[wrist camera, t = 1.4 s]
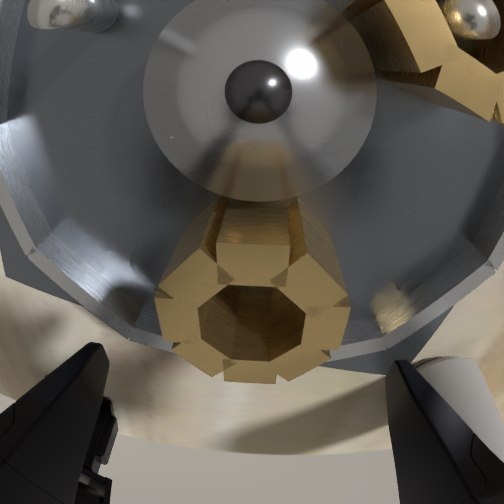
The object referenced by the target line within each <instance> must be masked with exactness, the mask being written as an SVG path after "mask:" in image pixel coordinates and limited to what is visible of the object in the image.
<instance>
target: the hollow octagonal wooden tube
mask: <svg viewBox="0 0 504 504" xmlns="http://www.w3.org/2000/svg"><path fill="white" fill-rule="evenodd" d="M233 285H244V286H265V287H277V288H278V289H276V290H275V291H274V292H272V293H256V292H240V291H239V290H237V289H236V288H235V287H234V286H233ZM158 287H159V288H158V290H157V292H156V295H155V297H154V299H155V304H156V309H157V314H158V318H159V323H160V327H161V332H162V336H163V340H164V341H170V342H173V345H172V349H171V351H173V352H174V353H176V354H177V355H179V356H180V357H182V358H183V359H185V360H186V361H188V362H189V363H191V364H192V365H194V366H195V367H197V368H198V369H200V370H201V371H203V372H204V373H206V374H207V375H209V376H211V377H213V376H215V375H217V374H218V373H220V372H222V371H224V381H229V382H244V383H263V384H276V376H277V374H278V375H280V376H281V377H283V378H284V379H286V380H287V381H290V380H292V379H294V378H296V377H298V376H300V375H302V374H304V373H306V372H308V371H310V370H311V369H313V368H315V367H317V366H319V365H321V364H323V363H324V362H326V361H328V360H330V359H331V355H330V350H339V349H340V345H341V342H342V339H343V335H344V332H345V328H346V324H347V321H348V317H349V313H350V310H351V305H350V301H349V298H348V293H347V290H346V286H345V283H344V279H343V276H342V272H341V269H340V266H339V262H338V259H337V256H336V252H335V249H334V246H333V243H332V239H331V236H330V233H329V232H328V231H327V230H326V228H325V227H324V226H323V225H322V224H321V223H320V222H319V221H318V220H317V219H316V217H315V216H314V215H313V214H312V213H311V212H310V211H309V210H308V209H307V208H306V207H305V206H304V204H303V203H302V202H301V201H300V200H299V199H298V198H297V199H296V200H295V201H293V202H292V203H291V204H290V205H289V206H287V205H286V199H284V200H277V201H264V202H255V201H243V200H238V199H233V198H230V199H229V202H226V201H225V200H224V199H223V198H222V197H221V196H220V195H219V196H218V197H217V198H216V199H215V200H214V201H213V202H212V203H211V204H210V205H209V206H207V207H206V208H205V209H204V210H203V211H202V212H201V213H200V214H199V215H198V216H197V217H196V218H195V219H194V220H193V221H192V222H191V223H190V224H189V225H188V226H187V227H186V228H185V230H184V232H183V234H182V236H181V238H180V240H179V242H178V244H177V247H176V249H175V251H174V253H173V255H172V257H171V259H170V261H169V263H168V265H167V267H166V269H165V271H164V274H163V276H162V278H161V280H160V282H159V284H158Z"/></svg>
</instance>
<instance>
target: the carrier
mask: <svg viewBox="0 0 504 504" xmlns="http://www.w3.org/2000/svg"><path fill="white" fill-rule="evenodd" d="M193 1H195V0H0V250H1V256H2V261H3V266H4V270H5V275H6V277H8V278H11V279H13V280H16V281H18V282H21V283H23V284H25V285H28V286H30V287H33V288H36V289H38V290H41V291H43V292H46V293H48V294H51V295H54V296H56V297H59V298H62V299H65V300H67V301H70V302H73V303H76V304H79V305H82V306H84V307H85V308H87V309H88V310H89V311H90V312H92V313H93V314H94V315H96V316H97V317H98V318H100V319H101V320H102V321H103V322H105V323H106V324H107V325H109V326H110V327H112V328H113V329H114V330H116V331H117V332H118V333H120V334H121V335H122V336H124V337H125V338H127V339H128V338H129V337H130V340H131V341H134V342H137V343H141V344H144V345H147V346H151V347H154V348H158V349H161V350H165V351H168V352H172V353H174V352H173V351H171V349H172V345H173V342H170V341H164V340H163V336H162V332H161V327H160V323H159V318H158V314H157V309H156V304H155V299H154V297H155V295H156V292H157V290H158V288H159V287H158V284H159V282H160V280H161V278H162V276H163V274H164V271H165V269H166V267H167V265H168V263H169V261H170V259H171V257H172V255H173V253H174V251H175V249H176V247H177V244H178V242H179V240H180V238H181V236H182V234H183V232H184V230H185V228H186V227H187V226H188V225H189V224H190V223H191V222H192V221H193V220H194V219H195V218H196V217H197V216H198V215H199V214H200V213H201V212H202V211H203V210H204V209H205V208H206V207H207V206H209V205H210V204H211V203H212V202H213V201H214V200H215V199H216V198H217V197H218V196H219V194H216V193H214V192H212V191H210V190H207V189H205V188H203V187H201V186H200V185H198V184H196V183H195V182H193V181H192V180H190V179H189V178H188V177H186V176H185V175H184V174H182V173H181V172H180V171H179V170H178V169H177V168H176V167H175V166H174V165H173V164H172V163H171V162H170V161H169V160H168V158H167V157H166V156H165V155H164V153H163V152H162V151H161V149H160V147H159V146H158V144H157V142H156V141H155V139H154V137H153V134H152V132H151V130H150V127H149V125H148V121H147V117H146V114H145V108H144V100H143V81H144V75H145V69H146V65H147V62H148V58H149V55H150V53H151V51H152V48H153V46H154V44H155V42H156V40H157V39H158V37H159V35H160V34H161V32H162V31H163V29H164V28H165V27H166V26H167V24H168V23H169V22H170V21H171V20H172V19H173V17H175V16H176V15H177V14H178V13H179V12H180V11H181V10H182V9H183V8H185V7H186V6H187V5H189V4H190V3H192V2H193ZM324 1H325V2H327V3H328V4H329V5H331V6H332V7H334V8H335V9H336V10H337V11H338V12H340V13H341V14H342V15H343V16H344V17H345V18H346V19H347V20H348V21H350V20H351V19H353V18H355V17H356V16H358V15H359V14H358V13H356V12H353V11H350V10H348V9H346V6H347V2H348V0H324ZM436 2H437V4H438V6H439V8H440V10H441V12H442V14H443V16H444V18H445V20H446V22H447V24H448V26H449V28H450V30H451V32H452V35H453V37H454V39H455V42H456V44H457V46H458V48H459V49H461V50H463V47H464V43H465V40H472V39H492V38H494V37H495V36H496V35H497V34H498V33H499V30H500V26H501V21H500V15H499V12H498V10H497V8H496V6H495V4H494V3H493V1H492V0H436ZM386 74H387V71H375V78H376V85H377V101H376V108H375V115H374V118H373V122H372V125H371V129H370V131H369V133H368V135H367V138H366V140H365V142H364V144H363V145H362V147H361V148H360V150H359V152H358V153H357V155H356V156H355V157H354V158H353V159H352V161H351V162H350V163H349V164H348V165H347V166H346V167H345V168H344V169H343V170H342V171H341V172H340V173H339V174H338V175H336V176H335V177H334V178H332V179H331V180H330V181H328V182H327V183H325V184H323V185H322V186H320V187H318V188H316V189H314V190H312V191H310V192H307V193H305V194H302V195H300V196H296V197H292V198H289V199H286V205H287V206H289V205H290V204H291V203H292V202H293V201H295V200H296V199H297V198H298V199H299V200H300V201H301V202H302V203H303V204H304V206H305V207H306V208H307V209H308V210H309V211H310V212H311V213H312V214H313V215H314V216H315V217H316V219H317V220H318V221H319V222H320V223H321V224H322V225H323V226H324V227H325V228H326V230H327V231H328V232H329V233H330V236H331V239H332V243H333V246H334V249H335V252H336V256H337V259H338V262H339V266H340V269H341V272H342V276H343V279H344V283H345V286H346V290H347V293H348V298H349V301H350V305H351V310H350V313H349V317H348V321H347V324H346V328H345V332H344V335H343V339H342V342H341V345H340V349H339V350H330V355H331V359H330V360H328V361H326V362H324V363H323V364H321V365H319V366H325V367H331V368H337V369H344V370H351V371H358V372H366V373H373V374H382V375H387V373H388V371H389V369H390V367H391V365H392V363H393V362H394V361H395V360H402V359H405V360H408V361H409V362H410V363H411V362H412V360H413V359H414V358H415V357H416V356H417V354H418V353H419V352H420V351H421V349H422V348H423V347H424V346H425V344H426V343H427V342H428V340H429V339H430V338H431V337H432V335H433V334H434V333H435V331H436V330H437V329H438V327H439V326H440V325H441V323H442V322H443V320H444V319H445V318H446V316H447V315H448V313H449V312H450V311H451V309H452V308H453V306H454V305H455V304H456V303H457V302H458V301H460V300H461V299H462V298H464V297H465V296H466V295H468V294H469V293H470V292H471V291H473V290H474V289H475V288H477V287H478V286H479V285H480V284H482V283H483V282H484V281H485V280H487V279H488V278H489V277H490V276H491V275H493V274H494V273H495V270H494V269H496V270H498V268H499V266H500V265H501V263H502V261H503V260H504V123H503V124H502V123H499V122H496V121H494V120H490V122H488V121H485V120H482V119H479V118H477V117H474V116H471V115H468V114H465V113H462V112H459V111H456V110H453V109H449V108H446V107H443V106H439V105H436V104H432V103H429V102H427V101H425V100H423V99H421V98H420V97H418V96H416V95H414V94H412V93H410V92H407V91H405V90H403V89H401V88H399V87H397V86H395V85H393V84H390V83H388V82H386V81H384V80H385V77H386ZM220 196H221V197H222V198H223V199H224V200H225V201H226V202H229V199H230V198H229V197H226V196H223V195H220ZM233 286H234V287H235V288H236V289H237V290H239V291H240V292H256V293H272V292H274V291H275V290H276V289H278V288H277V287H265V286H244V285H233Z"/></svg>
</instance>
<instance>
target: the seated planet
mask: <svg viewBox="0 0 504 504" xmlns="http://www.w3.org/2000/svg"><path fill="white" fill-rule="evenodd" d="M492 1H493V3H494V4H495V6H496V8H497V10H498V12H499V15H500V21H501V26H500V30H499V33H498V34H497V35H496V36H495V37H494V38H492V39H472V40H465V43H464V47H463V50H461V49H459V48H458V46H457V44H456V42H455V39H454V37H453V35H452V32H451V30H450V28H449V26H448V24H447V22H446V20H445V18H444V16H443V14H442V12H441V10H440V8H439V6H438V4H437V2H436V0H348V2H347V6H346V9H348V10H350V11H353V12H356V13H358V14H359V15H358V16H356V17H355V18H353V19H351V20H350V21H349V22H350V24H351V25H352V26H353V27H354V28H355V30H356V31H357V33H358V34H359V36H360V37H361V39H362V40H363V42H364V44H365V46H366V48H367V50H368V53H369V55H370V57H371V61H372V64H373V67H374V71H387V74H386V77H385V80H384V81H386V82H388V83H390V84H393V85H395V86H397V87H399V88H401V89H403V90H405V91H407V92H410V93H412V94H414V95H416V96H418V97H420V98H421V99H423V100H425V101H427V102H429V103H432V104H436V105H439V106H443V107H446V108H449V109H453V110H456V111H459V112H462V113H465V114H468V115H471V116H474V117H477V118H479V119H482V120H485V121H488V122H490V120H494V121H496V122H499V123H502V124H503V123H504V0H492Z"/></svg>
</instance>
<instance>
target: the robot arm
mask: <svg viewBox="0 0 504 504" xmlns="http://www.w3.org/2000/svg"><path fill="white" fill-rule="evenodd" d="M108 370H109V359H108V357H107V355H106V352H105V350H104V347H103V345H102V344H100V343H94V342H90V343H88V344H86V345H85V346H84V347H83V348H81V349H80V350H79V351H78V352H76V353H75V354H74V355H73V356H71V357H70V358H69V359H67V360H66V361H65V362H64V363H62V364H61V365H60V366H59V367H57V368H56V369H55V370H54V371H52V372H51V373H50V374H49V375H46V376H45V378H44V379H43V380H41V381H40V382H39V383H38V384H36V385H35V386H34V387H33V388H31V389H30V390H29V391H28V392H27V393H25V394H24V395H23V396H22V397H20V398H19V399H18V400H17V401H16V402H15V403H13V404H12V405H11V406H9V407H8V408H7V409H6V410H5V411H3V412H2V413H1V414H0V504H110V495H111V486H112V480H111V479H109V478H107V477H103V476H101V475H99V474H98V471H99V468H100V465H101V464H104V465H106V464H107V463H108V460H109V457H110V454H111V451H112V447H113V444H114V441H115V438H116V435H117V432H118V425H117V419H116V417H115V416H114V413H113V407H112V402H111V401H110V400H108V399H106V398H104V397H103V393H104V388H105V383H106V379H107V374H108ZM385 386H386V398H387V411H388V424H389V431H390V437H391V443H392V449H393V455H394V462H395V468H396V475H397V483H398V490H399V499H400V504H504V462H503V461H502V460H501V459H499V458H498V457H497V456H496V455H495V454H494V453H493V452H492V451H491V450H490V449H489V448H488V447H487V446H486V445H485V443H484V442H483V441H482V440H481V439H480V438H479V437H478V436H477V435H476V434H475V433H473V430H472V429H471V428H470V427H469V426H468V425H467V424H466V423H465V421H464V420H463V419H462V418H461V417H460V416H459V415H458V414H457V413H456V412H455V410H454V409H453V408H452V407H451V406H450V405H449V404H448V403H447V402H446V401H445V400H444V398H443V397H442V396H441V395H440V394H439V393H438V392H437V391H436V390H435V389H434V388H433V387H432V386H431V384H430V383H429V382H428V381H427V380H426V379H425V378H424V377H423V376H422V375H421V374H420V373H419V372H418V371H417V370H416V369H415V368H414V366H413V365H412V364H411V363H410V362H409V361H408V360H405V359H402V360H395V361H394V362H393V363H392V365H391V367H390V369H389V371H388V373H387V375H386V379H385Z"/></svg>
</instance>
